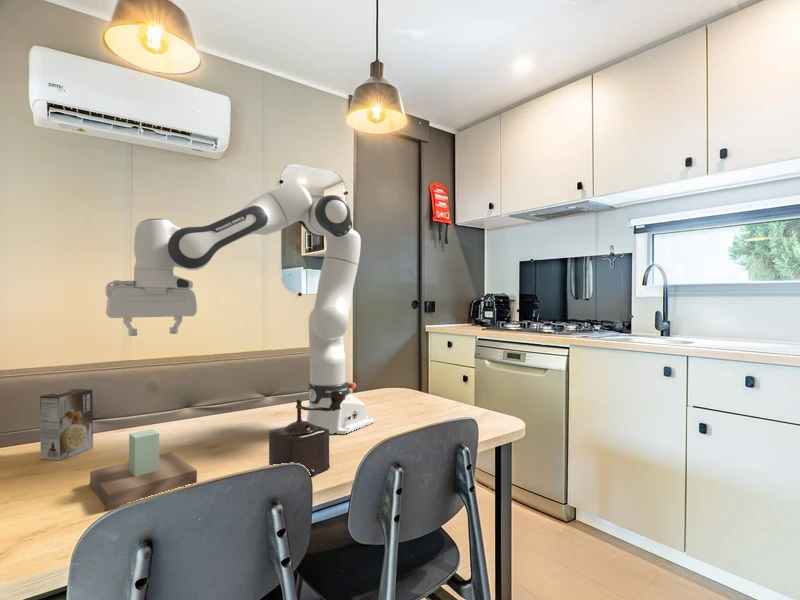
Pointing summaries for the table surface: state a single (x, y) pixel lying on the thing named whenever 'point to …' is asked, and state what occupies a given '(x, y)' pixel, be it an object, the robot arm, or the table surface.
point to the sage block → (143, 452)
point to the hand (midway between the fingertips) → (153, 334)
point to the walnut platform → (140, 481)
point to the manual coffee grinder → (304, 439)
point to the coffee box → (66, 423)
